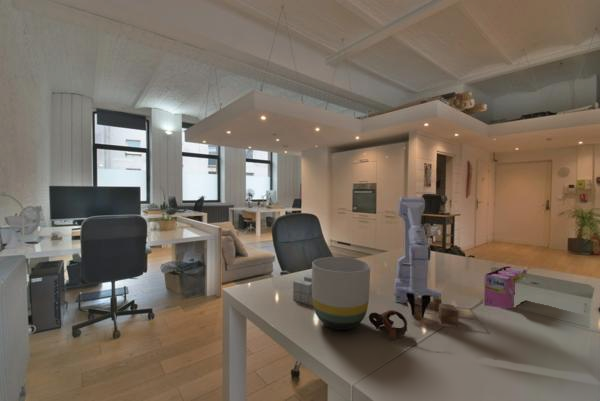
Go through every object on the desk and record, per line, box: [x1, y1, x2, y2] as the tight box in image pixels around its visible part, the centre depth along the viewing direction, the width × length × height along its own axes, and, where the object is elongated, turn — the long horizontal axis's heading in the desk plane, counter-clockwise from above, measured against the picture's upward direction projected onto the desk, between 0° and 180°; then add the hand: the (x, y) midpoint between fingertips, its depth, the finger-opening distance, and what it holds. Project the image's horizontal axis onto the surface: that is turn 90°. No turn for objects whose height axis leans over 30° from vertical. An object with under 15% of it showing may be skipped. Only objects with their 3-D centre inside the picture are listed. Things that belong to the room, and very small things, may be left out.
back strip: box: [431, 297, 478, 319], centre depth 103 cm, size 14×8×5 cm, turn 73°
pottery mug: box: [368, 309, 408, 341], centre depth 89 cm, size 12×10×8 cm
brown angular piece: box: [413, 302, 459, 328], centre depth 96 cm, size 14×8×5 cm, turn 73°
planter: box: [311, 256, 371, 331], centre depth 93 cm, size 20×20×21 cm
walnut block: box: [438, 303, 459, 327], centre depth 95 cm, size 5×5×5 cm
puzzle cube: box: [292, 274, 314, 307], centre depth 117 cm, size 12×12×8 cm
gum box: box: [483, 266, 528, 310], centre depth 115 cm, size 24×8×14 cm, turn 125°
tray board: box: [426, 303, 491, 335], centre depth 98 cm, size 17×20×2 cm
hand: (417, 315), depth 97 cm, fingers closed on brown angular piece, 2 cm apart
